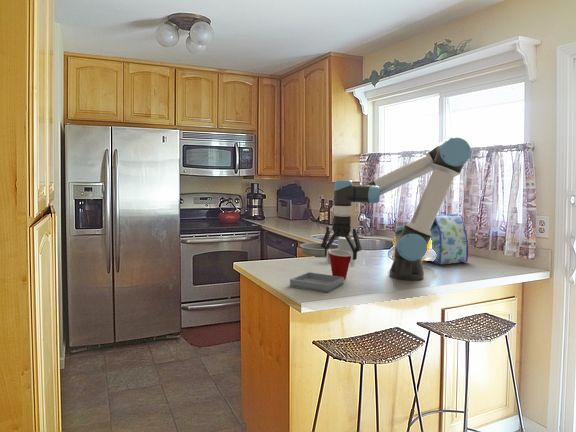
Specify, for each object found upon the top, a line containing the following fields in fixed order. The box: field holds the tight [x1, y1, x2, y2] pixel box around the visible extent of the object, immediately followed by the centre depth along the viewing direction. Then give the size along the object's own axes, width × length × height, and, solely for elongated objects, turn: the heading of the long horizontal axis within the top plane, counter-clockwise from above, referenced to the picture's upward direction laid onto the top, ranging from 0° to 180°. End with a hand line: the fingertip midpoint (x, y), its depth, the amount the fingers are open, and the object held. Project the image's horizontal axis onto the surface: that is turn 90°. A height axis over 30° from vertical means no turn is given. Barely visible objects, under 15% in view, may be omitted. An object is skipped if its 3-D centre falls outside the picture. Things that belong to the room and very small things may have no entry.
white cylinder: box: [337, 236, 356, 263], centre depth 239 cm, size 10×10×12 cm
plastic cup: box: [329, 250, 351, 280], centre depth 197 cm, size 11×11×12 cm
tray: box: [289, 271, 345, 294], centre depth 184 cm, size 17×17×3 cm
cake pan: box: [299, 242, 338, 257], centre depth 261 cm, size 25×25×4 cm
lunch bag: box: [430, 213, 469, 265], centre depth 242 cm, size 22×17×26 cm
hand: (340, 265), depth 197 cm, fingers closed on plastic cup, 11 cm apart
